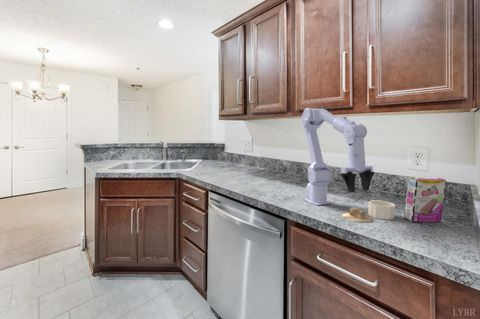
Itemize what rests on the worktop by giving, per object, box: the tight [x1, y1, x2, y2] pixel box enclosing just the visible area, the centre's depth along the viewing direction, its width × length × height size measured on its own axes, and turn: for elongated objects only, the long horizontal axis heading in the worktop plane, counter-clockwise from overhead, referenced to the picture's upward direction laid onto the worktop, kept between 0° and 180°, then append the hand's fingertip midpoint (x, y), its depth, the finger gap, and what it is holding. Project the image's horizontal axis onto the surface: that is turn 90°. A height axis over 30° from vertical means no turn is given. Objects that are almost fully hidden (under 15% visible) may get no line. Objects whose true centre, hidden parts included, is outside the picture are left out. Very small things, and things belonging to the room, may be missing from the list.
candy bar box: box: [403, 176, 447, 223], centre depth 94 cm, size 11×5×16 cm, turn 92°
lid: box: [342, 206, 373, 224], centre depth 97 cm, size 10×10×4 cm
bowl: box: [367, 199, 396, 220], centre depth 100 cm, size 9×9×5 cm
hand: (358, 191), depth 96 cm, fingers open, 7 cm apart
